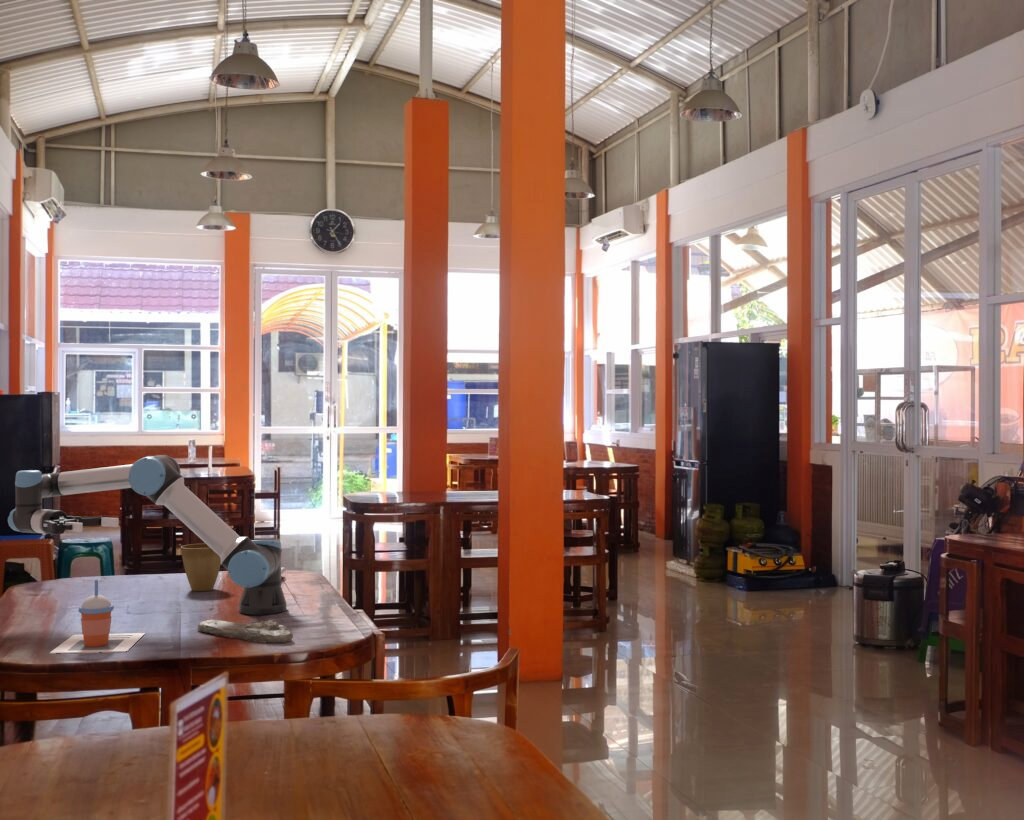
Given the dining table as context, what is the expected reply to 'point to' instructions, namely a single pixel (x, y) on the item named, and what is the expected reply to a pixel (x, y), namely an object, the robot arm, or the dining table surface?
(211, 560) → the plant pot
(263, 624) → the elongated rock
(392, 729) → the dining table surface
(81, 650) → the picture frame
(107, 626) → the cup with straw
